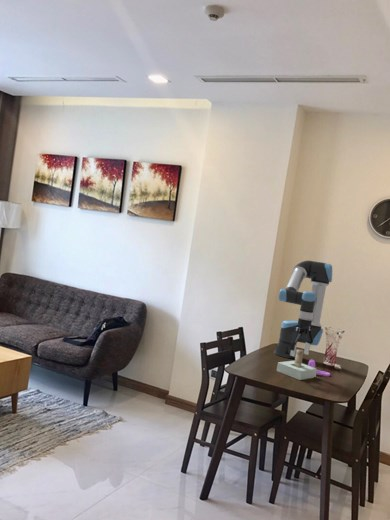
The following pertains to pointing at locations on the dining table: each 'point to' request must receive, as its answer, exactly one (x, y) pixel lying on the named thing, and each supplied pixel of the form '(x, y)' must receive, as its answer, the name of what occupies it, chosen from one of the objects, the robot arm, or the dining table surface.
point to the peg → (298, 358)
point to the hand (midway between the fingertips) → (299, 355)
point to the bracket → (311, 363)
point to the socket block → (296, 370)
